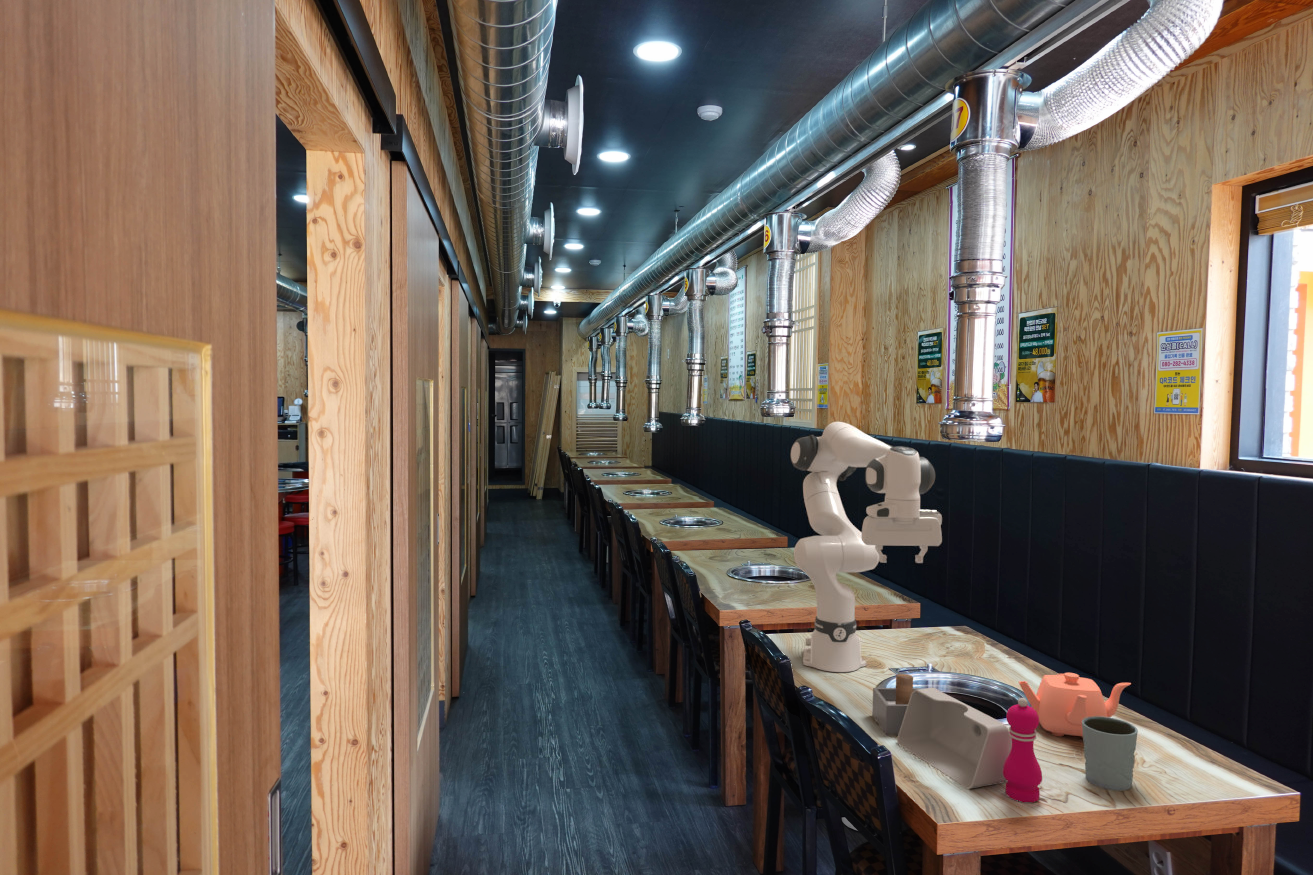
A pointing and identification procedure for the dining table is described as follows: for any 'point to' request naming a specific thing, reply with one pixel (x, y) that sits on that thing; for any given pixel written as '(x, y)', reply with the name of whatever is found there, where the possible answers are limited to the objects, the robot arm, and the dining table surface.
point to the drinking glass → (1109, 752)
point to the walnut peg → (903, 688)
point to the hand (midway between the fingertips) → (900, 562)
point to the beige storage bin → (955, 738)
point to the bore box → (888, 710)
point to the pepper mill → (1022, 754)
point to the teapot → (1070, 702)
